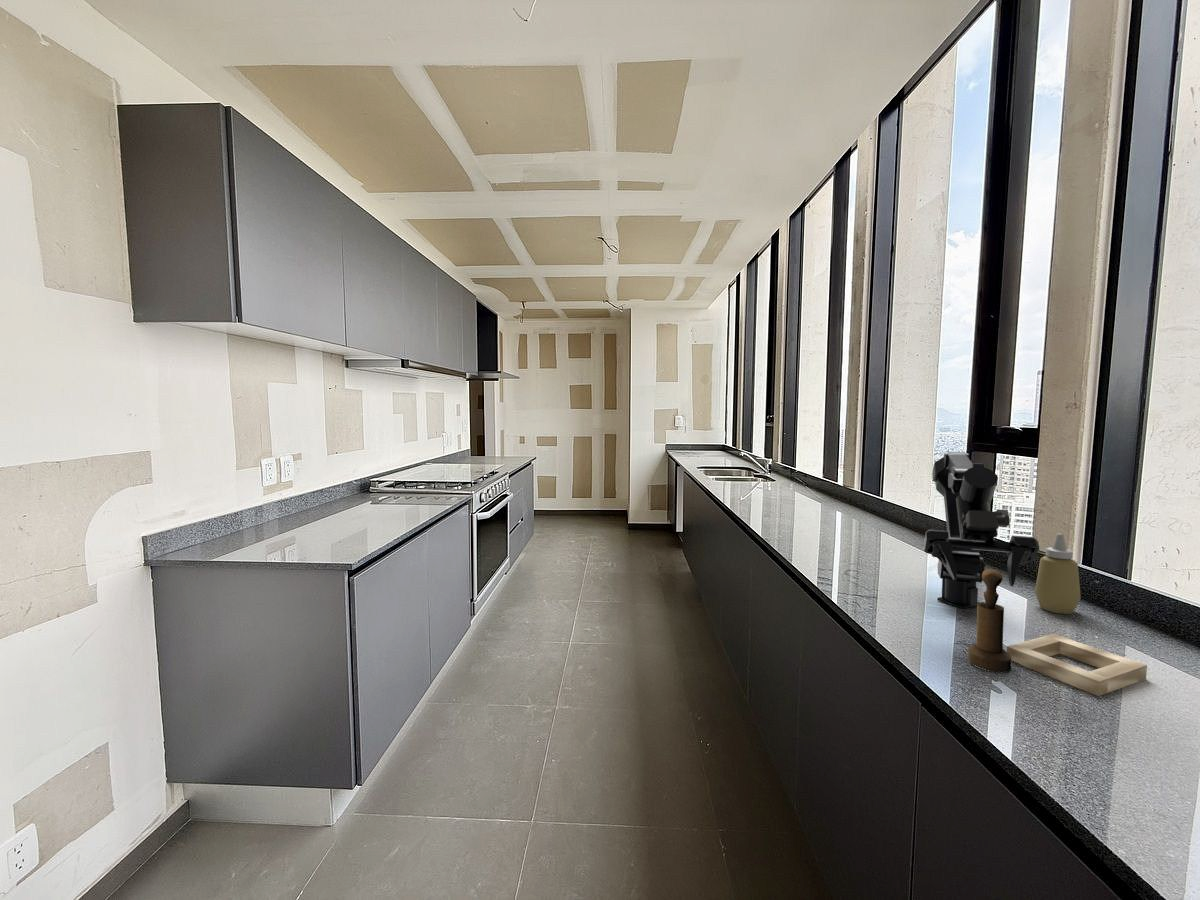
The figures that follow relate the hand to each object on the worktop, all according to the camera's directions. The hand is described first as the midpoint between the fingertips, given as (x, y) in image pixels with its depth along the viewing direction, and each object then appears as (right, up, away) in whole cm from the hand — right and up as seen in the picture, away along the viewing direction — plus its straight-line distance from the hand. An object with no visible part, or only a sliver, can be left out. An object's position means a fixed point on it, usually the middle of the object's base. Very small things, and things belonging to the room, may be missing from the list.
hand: (983, 582), depth 103 cm
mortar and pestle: (-3, -14, -6) cm, 15 cm away
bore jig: (+11, -14, -8) cm, 19 cm away
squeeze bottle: (+31, -12, +19) cm, 38 cm away
